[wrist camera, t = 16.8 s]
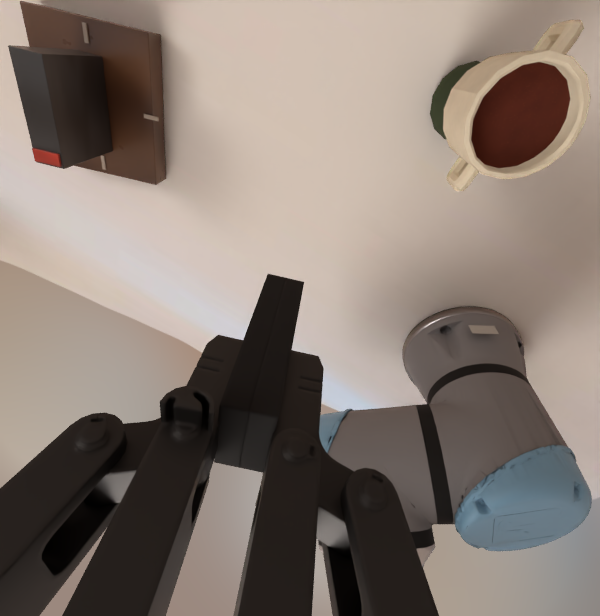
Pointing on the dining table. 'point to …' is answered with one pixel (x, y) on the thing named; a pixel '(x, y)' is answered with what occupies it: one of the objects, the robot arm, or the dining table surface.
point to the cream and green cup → (513, 109)
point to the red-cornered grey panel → (63, 103)
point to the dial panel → (115, 85)
